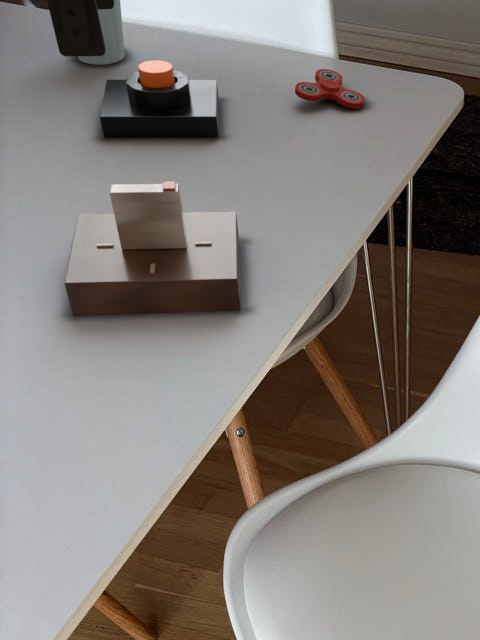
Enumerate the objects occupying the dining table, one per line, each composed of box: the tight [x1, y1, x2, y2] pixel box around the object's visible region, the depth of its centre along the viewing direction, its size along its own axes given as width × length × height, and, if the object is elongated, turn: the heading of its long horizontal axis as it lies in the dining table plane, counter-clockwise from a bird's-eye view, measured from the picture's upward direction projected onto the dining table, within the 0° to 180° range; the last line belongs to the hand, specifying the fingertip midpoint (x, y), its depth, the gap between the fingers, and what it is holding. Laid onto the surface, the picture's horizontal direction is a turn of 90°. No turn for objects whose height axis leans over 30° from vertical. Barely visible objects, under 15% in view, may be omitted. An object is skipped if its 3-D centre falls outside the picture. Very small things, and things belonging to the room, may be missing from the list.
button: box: [137, 59, 175, 88], centre depth 109 cm, size 4×4×2 cm
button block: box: [99, 69, 220, 139], centre depth 111 cm, size 12×10×4 cm
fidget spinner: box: [294, 68, 366, 110], centre depth 118 cm, size 8×7×1 cm
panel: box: [64, 211, 242, 316], centre depth 90 cm, size 14×12×3 cm
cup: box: [76, 0, 125, 66], centre depth 119 cm, size 8×8×10 cm
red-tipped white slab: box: [109, 181, 187, 249], centre depth 87 cm, size 6×2×5 cm, turn 99°
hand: (89, 30), depth 77 cm, fingers open, 9 cm apart
